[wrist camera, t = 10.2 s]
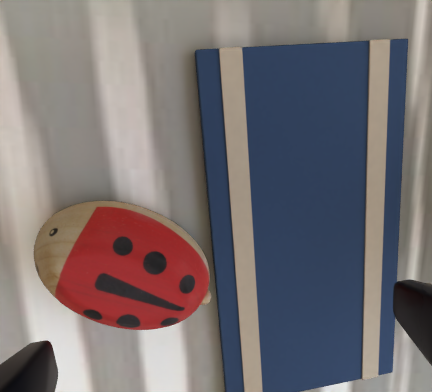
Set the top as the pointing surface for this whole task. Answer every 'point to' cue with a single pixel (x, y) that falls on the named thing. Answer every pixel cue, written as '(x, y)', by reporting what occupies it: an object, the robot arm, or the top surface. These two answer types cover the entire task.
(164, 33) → the top surface
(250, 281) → the towel
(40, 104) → the top surface
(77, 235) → the ladybug figurine
